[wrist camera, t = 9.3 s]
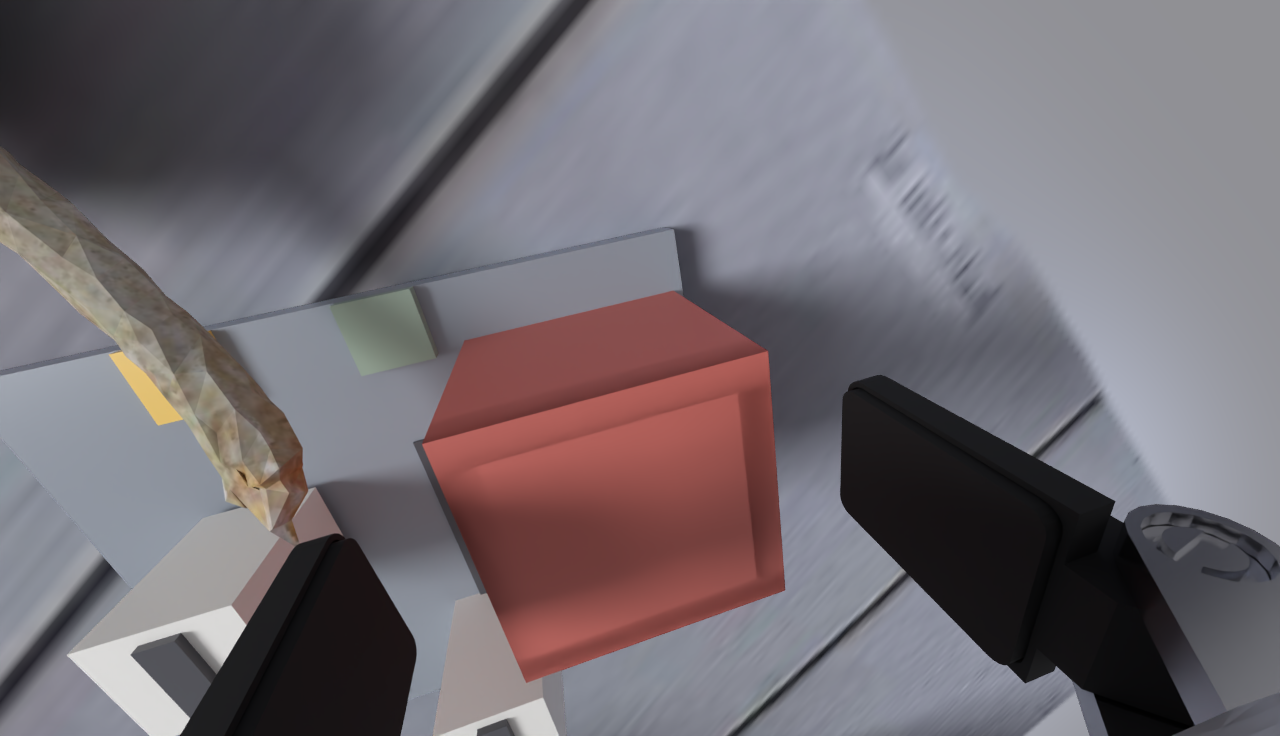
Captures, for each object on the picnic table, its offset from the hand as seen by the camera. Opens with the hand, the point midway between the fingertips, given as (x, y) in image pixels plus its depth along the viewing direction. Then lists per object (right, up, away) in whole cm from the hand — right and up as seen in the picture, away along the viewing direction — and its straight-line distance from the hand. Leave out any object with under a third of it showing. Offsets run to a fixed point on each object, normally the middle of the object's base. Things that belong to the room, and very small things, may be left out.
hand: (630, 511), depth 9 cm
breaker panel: (-6, -2, +7) cm, 10 cm away
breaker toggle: (-11, -2, +5) cm, 12 cm away
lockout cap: (-1, +1, +6) cm, 6 cm away
